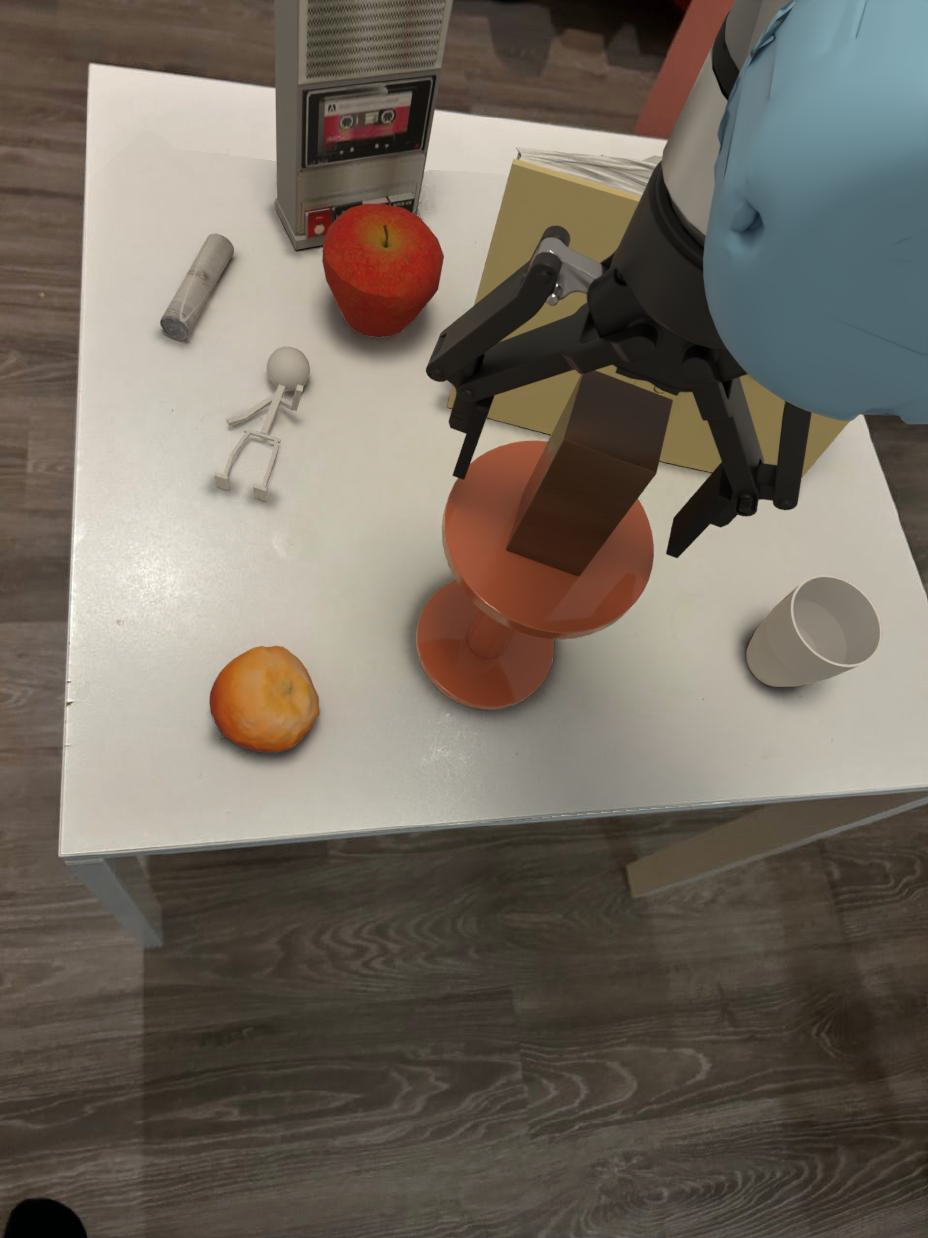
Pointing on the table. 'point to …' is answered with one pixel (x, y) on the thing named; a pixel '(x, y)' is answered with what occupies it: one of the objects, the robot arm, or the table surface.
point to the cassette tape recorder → (353, 106)
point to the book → (596, 220)
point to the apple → (381, 267)
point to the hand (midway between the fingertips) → (570, 499)
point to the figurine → (271, 408)
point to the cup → (815, 634)
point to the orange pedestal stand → (516, 588)
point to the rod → (197, 286)
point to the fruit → (264, 700)
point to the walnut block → (590, 471)
